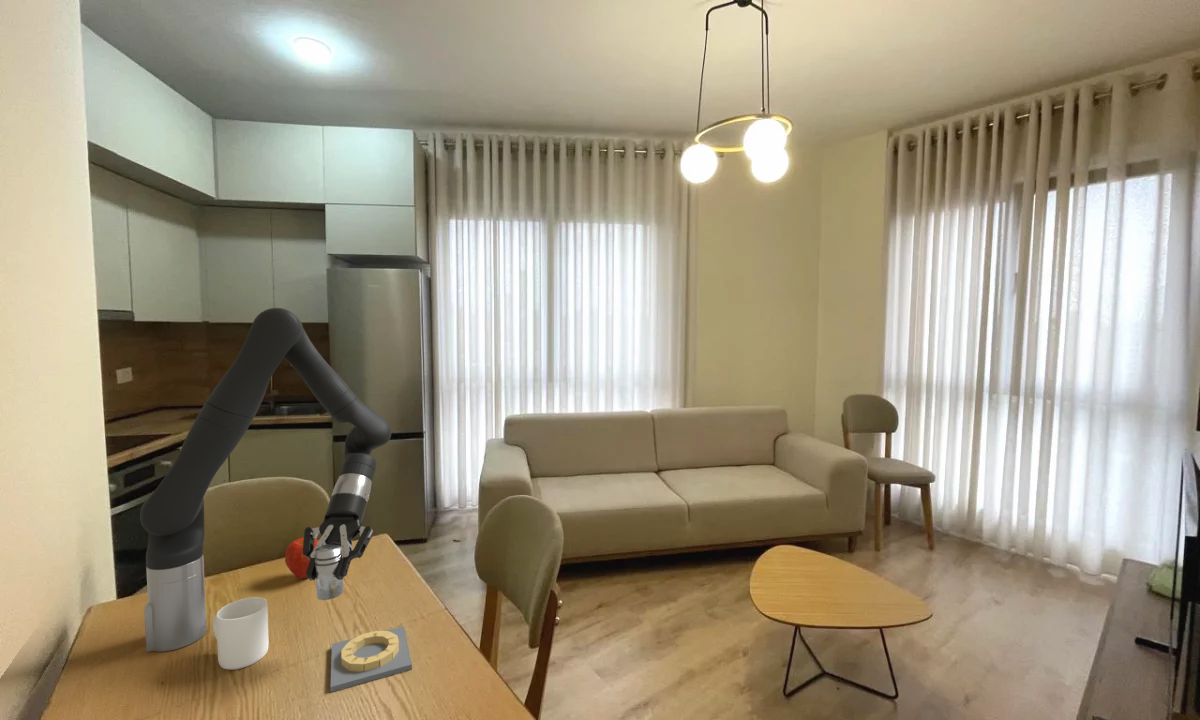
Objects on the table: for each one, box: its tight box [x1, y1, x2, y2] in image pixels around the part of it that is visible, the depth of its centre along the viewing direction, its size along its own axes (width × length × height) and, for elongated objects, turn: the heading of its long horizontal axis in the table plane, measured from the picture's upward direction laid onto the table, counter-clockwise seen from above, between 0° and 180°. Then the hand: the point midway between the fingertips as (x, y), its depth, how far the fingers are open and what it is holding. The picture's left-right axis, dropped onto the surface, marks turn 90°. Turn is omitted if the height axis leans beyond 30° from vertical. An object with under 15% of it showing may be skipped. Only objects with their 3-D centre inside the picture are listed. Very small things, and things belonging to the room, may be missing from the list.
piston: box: [315, 543, 344, 601], centre depth 102 cm, size 5×5×10 cm
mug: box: [212, 596, 269, 671], centre depth 101 cm, size 12×8×10 cm
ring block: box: [330, 625, 413, 693], centre depth 101 cm, size 14×14×2 cm
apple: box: [284, 537, 319, 580], centre depth 132 cm, size 9×8×11 cm
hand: (325, 578), depth 100 cm, fingers closed on piston, 5 cm apart
